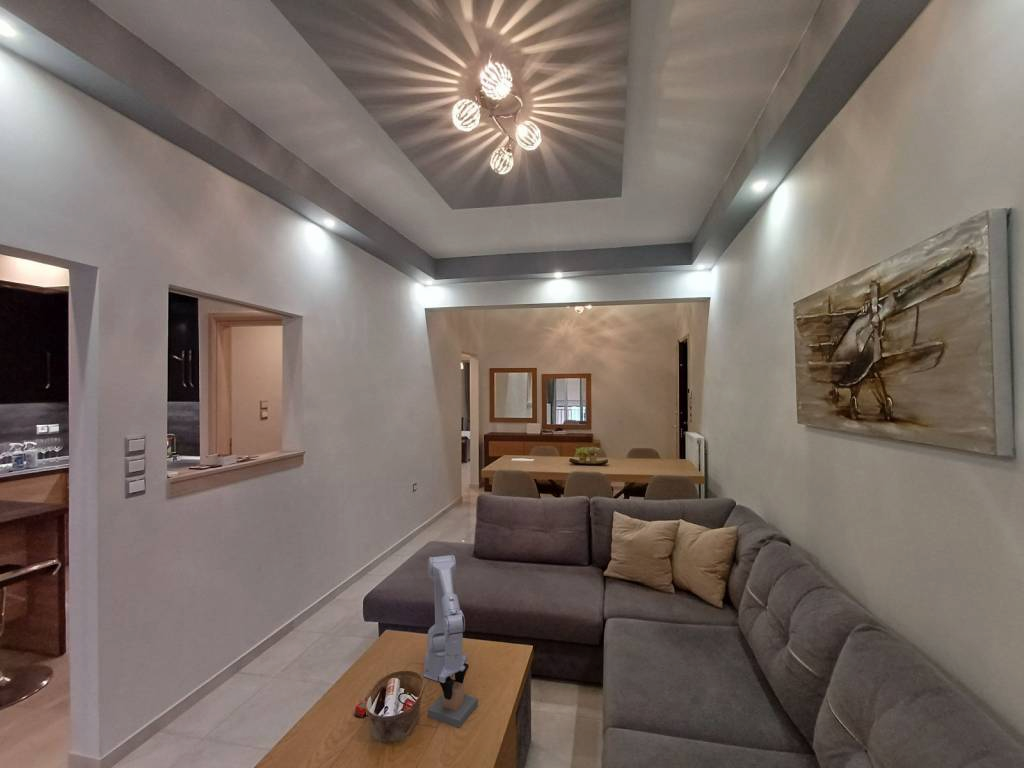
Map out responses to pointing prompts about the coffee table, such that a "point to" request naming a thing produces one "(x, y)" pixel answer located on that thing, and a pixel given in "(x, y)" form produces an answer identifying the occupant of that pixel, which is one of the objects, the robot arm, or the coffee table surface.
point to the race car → (361, 709)
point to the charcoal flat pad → (450, 715)
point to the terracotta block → (455, 697)
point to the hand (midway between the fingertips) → (453, 692)
